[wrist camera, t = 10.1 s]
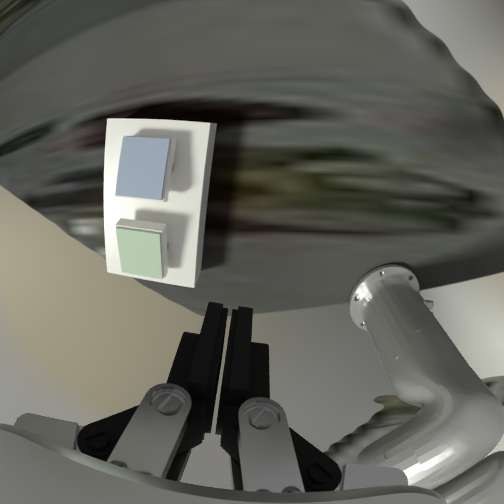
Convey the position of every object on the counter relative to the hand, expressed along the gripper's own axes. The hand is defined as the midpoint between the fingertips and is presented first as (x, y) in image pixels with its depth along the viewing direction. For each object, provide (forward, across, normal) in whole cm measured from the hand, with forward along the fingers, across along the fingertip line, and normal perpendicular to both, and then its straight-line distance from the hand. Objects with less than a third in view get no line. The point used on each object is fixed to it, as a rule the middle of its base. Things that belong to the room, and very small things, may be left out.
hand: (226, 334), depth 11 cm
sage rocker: (+23, +12, +8) cm, 27 cm away
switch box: (+29, +12, +3) cm, 32 cm away
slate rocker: (+22, +12, -2) cm, 25 cm away
